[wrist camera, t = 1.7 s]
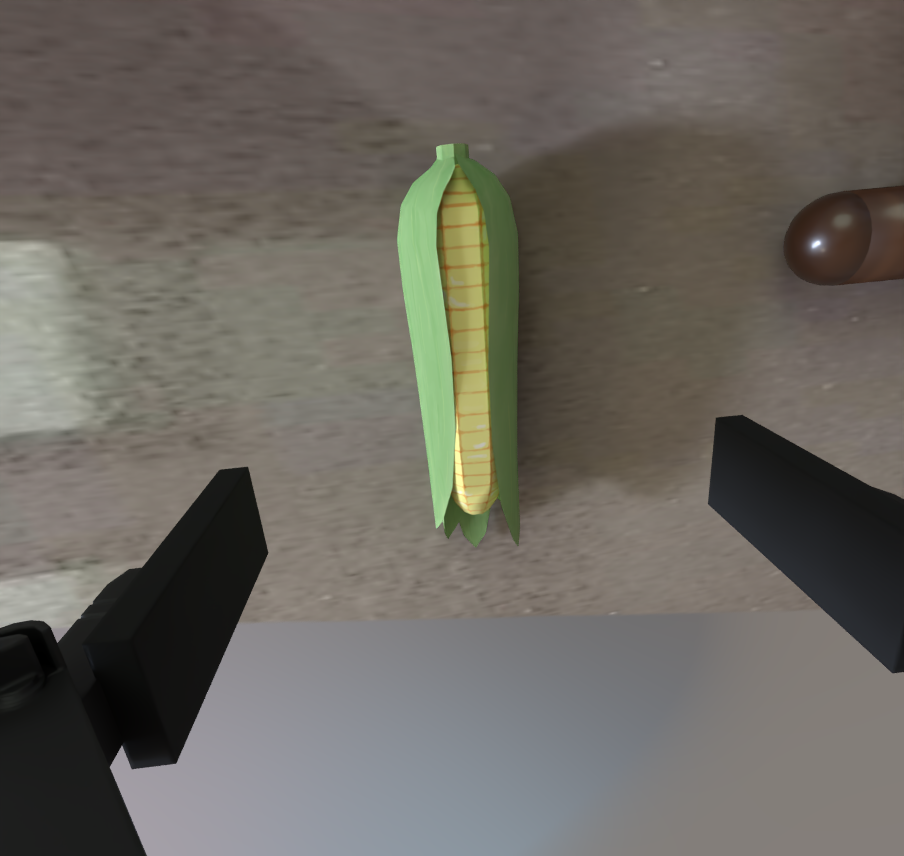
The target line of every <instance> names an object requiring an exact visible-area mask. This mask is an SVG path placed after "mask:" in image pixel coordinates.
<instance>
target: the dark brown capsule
mask: <svg viewBox="0 0 904 856" xmlns="http://www.w3.org/2000/svg"><path fill="white" fill-rule="evenodd" d="M783 248H784V256H785V259H786V261H787V264H788V266H789V267H790V269H791V270H792V271H793V272H794V273H795V274H796V275H797V276H798V277H800V278H801V279H803V280H805V281H807V282H809V283H813V284H817V285H831V286H833V285H844V284H854V283H864V282H875V281H885V280H895V279H904V186H895V187H884V188H873V189H862V190H851V191H842V192H837V193H832V194H828V195H825V196H823V197H821V198H819V199H817V200H815V201H813V202H811V203H810V204H809V205H807V206H806V207H805V208H803V209H802V210H801V211H800V212H799V213H798V214H797V215H796V217H795V218H794V219H793V221H792V222H791V224H790V226H789V228H788V230H787V232H786V235H785V239H784V247H783Z"/></svg>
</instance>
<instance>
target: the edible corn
mask: <svg viewBox="0 0 904 856" xmlns="http://www.w3.org/2000/svg"><path fill="white" fill-rule="evenodd" d="M436 150H437V160H436V161H435V162H434V164H433V165H432V167H431V168H430V169H429V170H428V171H426V172H425V173H424V174H423V175H422V176H421V177H419V178H418V179H417V180H416V181H415V182H414V183H413V184H412V186H411V188H410V190H409V192H408V193H407V195H406V197H405V199H404V201H403V203H402V205H401V210H400V219H399V228H398V237H397V243H398V251H399V260H400V269H401V277H402V286H403V293H404V299H405V306H406V312H407V318H408V324H409V330H410V336H411V343H412V349H413V355H414V361H415V369H416V376H417V383H418V390H419V398H420V405H421V412H422V420H423V427H424V434H425V441H426V449H427V457H428V465H429V474H430V482H431V490H432V498H433V506H434V514H435V522H436V529H437V527H438V526H439V525H440V524H441V523H442V522H443V524H444V532H445V534H446V536H447V538H449V537H450V535H451V534H452V532H453V531H454V529H455V527H456V526H457V524H458V523H460V526H461V528H462V531H463V534H464V536H465V537H466V538H467V539H468V540H469V541H470V542H471V543H472V544H473V545H474V546H475V547H477V545H478V544H479V542H480V541H481V539H482V538H483V536H484V535H485V533H486V528H487V523H488V518H489V512H490V507H491V506H492V504H493V503H494V502H495V500H496V499H497V498H498V499H499V500H500V501H501V506H502V509H503V512H504V515H505V518H506V520H507V523H508V526H509V529H510V532H511V535H512V537H513V540H514V541H515V543H516V544H517V546H518V544H519V532H520V515H519V489H518V464H517V354H518V311H519V260H518V232H517V227H516V223H515V218H514V214H513V209H512V205H511V200H510V197H509V195H508V194H507V192H506V191H505V189H504V188H503V186H502V185H501V183H500V182H499V180H498V179H497V177H496V176H495V174H493V173H492V172H490V171H489V170H488V169H486V168H485V167H483V166H482V165H481V164H479V163H478V162H476V161H475V160H472V159H470V158H469V151H468V145H467V144H448V145H441V146H438V147H436Z"/></svg>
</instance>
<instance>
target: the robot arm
mask: <svg viewBox="0 0 904 856" xmlns="http://www.w3.org/2000/svg"><path fill="white" fill-rule="evenodd" d="M708 504H709V505H710V506H711V507H712V508H713V509H714V510H715V511H716V512H717V513H718V514H720V515H721V516H722V517H723V518H724V519H725V520H726V521H727V522H728V523H729V524H730V525H731V526H733V527H734V528H735V529H736V530H737V531H738V532H739V533H740V534H741V535H742V536H743V537H745V538H746V539H747V540H748V541H749V542H750V543H751V544H752V545H753V546H754V547H755V548H757V549H758V550H759V551H760V552H761V553H762V554H763V555H764V556H765V557H766V558H767V559H769V560H770V561H771V562H772V563H773V564H774V565H775V566H776V567H777V568H778V569H779V570H781V571H782V572H783V573H784V574H785V575H786V576H787V577H788V578H789V579H790V580H791V581H793V582H794V583H795V584H796V585H797V586H798V587H799V588H800V589H801V590H802V591H803V592H804V593H806V594H807V595H808V596H809V597H810V598H811V599H812V600H813V601H814V602H815V603H816V604H818V605H819V606H820V607H821V608H822V609H823V610H824V611H825V612H826V613H827V614H829V615H830V616H831V617H832V618H833V619H834V620H835V621H836V622H837V623H838V624H839V625H840V626H842V627H843V628H844V629H845V630H846V631H847V632H848V633H849V634H850V635H852V636H853V637H854V638H855V639H856V640H857V641H858V642H859V643H860V644H861V645H862V646H863V647H864V648H866V649H867V650H868V651H869V652H870V653H871V654H872V655H873V656H874V657H875V658H876V659H878V660H879V661H880V662H881V663H882V664H883V665H884V666H885V667H886V668H887V669H888V670H890V671H891V672H892V673H899V672H904V499H902V498H900V497H898V496H897V495H895V494H892V493H889V492H886V491H883V490H880V489H877V488H874V487H871V486H869V485H867V484H866V483H864V482H862V481H860V480H858V479H857V478H855V477H853V476H851V475H849V474H848V473H846V472H844V471H842V470H840V469H839V468H837V467H835V466H833V465H831V464H830V463H828V462H826V461H824V460H822V459H821V458H819V457H817V456H815V455H813V454H812V453H810V452H808V451H806V450H804V449H803V448H801V447H799V446H797V445H795V444H794V443H792V442H790V441H788V440H786V439H785V438H783V437H781V436H779V435H777V434H776V433H774V432H772V431H770V430H768V429H767V428H765V427H763V426H761V425H759V424H758V423H756V422H754V421H752V420H750V419H749V418H747V417H745V416H743V415H738V416H728V417H719V418H716V424H715V434H714V445H713V456H712V467H711V478H710V488H709V499H708ZM267 555H268V550H267V545H266V541H265V537H264V532H263V528H262V524H261V520H260V515H259V511H258V507H257V503H256V498H255V494H254V490H253V486H252V481H251V477H250V473H249V469H248V467H241V468H232V469H222V470H219V471H218V473H217V474H216V475H215V476H214V478H213V479H212V480H211V481H210V483H209V484H208V485H207V486H206V488H205V489H204V490H203V492H202V493H201V494H200V495H199V497H198V498H197V499H196V500H195V502H194V503H193V504H192V505H191V507H190V508H189V509H188V510H187V512H186V513H185V514H184V516H183V517H182V518H181V519H180V521H179V522H178V523H177V524H176V526H175V527H174V528H173V529H172V531H171V532H170V533H169V534H168V536H167V537H166V538H165V539H164V541H163V542H162V543H161V545H160V546H159V547H158V548H157V550H156V551H155V552H154V553H153V555H152V556H151V557H150V558H149V560H148V561H147V562H146V563H145V565H144V566H143V567H142V568H135V569H129V570H127V571H126V572H124V573H123V574H122V575H120V576H119V577H117V578H116V579H115V580H113V581H112V582H110V583H109V584H108V585H107V586H106V587H105V588H104V589H103V590H102V591H101V593H100V594H99V595H98V596H97V597H96V598H95V600H94V601H93V605H90V606H89V607H88V608H87V609H86V610H85V611H84V613H83V614H82V615H81V619H78V620H77V621H76V622H75V623H74V624H73V625H72V627H71V628H70V629H69V630H68V631H67V633H66V634H65V635H64V636H63V637H62V638H61V640H60V641H59V642H58V643H57V642H56V639H55V637H54V635H53V632H52V630H51V627H50V626H49V625H47V624H46V623H45V622H44V621H33V620H30V621H24V622H19V623H13V624H11V625H8V626H5V627H2V628H0V856H147V855H146V853H145V850H144V848H143V845H142V843H141V841H140V838H139V836H138V834H137V831H136V829H135V826H134V824H133V822H132V819H131V817H130V815H129V812H128V810H127V807H126V805H125V803H124V800H123V798H122V795H121V793H120V791H119V788H118V786H117V783H116V781H115V779H114V776H113V774H112V772H111V769H110V766H111V764H112V762H113V760H114V758H115V757H116V755H117V753H118V751H119V749H120V748H121V746H123V748H124V751H125V753H126V756H127V758H128V761H129V763H130V766H131V768H132V769H136V768H145V767H153V766H161V765H169V764H176V763H177V761H178V758H179V756H180V753H181V751H182V749H183V747H184V744H185V742H186V740H187V738H188V735H189V733H190V731H191V728H192V726H193V724H194V722H195V719H196V717H197V715H198V712H199V710H200V708H201V706H202V703H203V701H204V699H205V696H206V694H207V692H208V690H209V687H210V685H211V682H212V680H213V678H214V676H215V674H216V671H217V669H218V666H219V664H220V662H221V660H222V657H223V655H224V653H225V651H226V648H227V646H228V644H229V642H230V639H231V637H232V635H233V632H234V630H235V628H236V625H237V623H238V621H239V619H240V616H241V614H242V612H243V610H244V607H245V605H246V603H247V600H248V598H249V596H250V594H251V591H252V589H253V587H254V584H255V582H256V580H257V578H258V575H259V573H260V571H261V568H262V566H263V564H264V562H265V559H266V557H267Z"/></svg>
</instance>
